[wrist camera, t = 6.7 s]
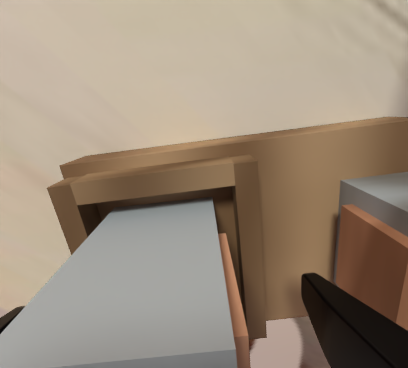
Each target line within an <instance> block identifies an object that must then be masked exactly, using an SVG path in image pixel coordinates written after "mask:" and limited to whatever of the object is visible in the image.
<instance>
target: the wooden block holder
mask: <svg viewBox="0 0 408 368" xmlns="http://www.w3.org/2000/svg"><path fill="white" fill-rule="evenodd" d="M60 169H61V172H62V175H63V178H64V180H62V181H60V182H58V183H56V184H54V185H52V186H50V187H48V188H47V190H48V192H49V195H50V198H51V200H52V203H53V206H54V209H55V211H56V214H57V217H58V219H59V222H60V225H61V227H62V230H63V233H64V236H65V238H66V241H67V244H68V246H69V249H70V252H71V255H72V254H73V253H74V252H75V251H76V250H77V249H78V247H79V246H80V245H81V244H82V243H83V242H84V241H85V240H86V239H87V238H88V236H89V235H90V234H91V233H92V232H93V231H94V230H95V229H96V228H97V226H98V225H99V224H100V223H101V222H102V221H103V220H104V219H105V218H106V216H107V215H108V214H109V213H110V212H111V211H112V210H113V209H114V208H115V207H123V206H133V205H142V204H151V203H160V202H169V201H178V200H188V199H197V198H206V197H212V198H213V205H214V211H215V218H216V224H217V231H218V234H222V233H226V236H227V241H228V245H229V250H230V254H231V259H232V263H233V268H234V273H235V277H236V282H237V286H238V291H239V295H240V300H241V304H242V309H243V313H244V318H245V322H246V327H247V332H248V338H249V339H258V338H266V321H268V320H276V319H286V318H295V317H304V316H308V313H307V311H306V308H305V306H304V303H303V301H302V297H301V276H302V274H304V273H312V272H314V273H317V274H319V275H320V276H322V277H323V278H325V279H326V280H328V281H330V282H331V283H333V284H334V285H336V286H338V287H339V288H341V289H342V290H344V291H346V292H347V293H349V294H350V295H352V296H353V297H355V298H357V299H358V300H360V301H361V302H363V303H365V304H366V305H368V306H369V307H371V308H373V309H374V310H376V311H377V312H379V313H380V314H382V315H384V316H385V317H387V318H388V319H390V320H392V321H393V322H395V323H396V324H398V325H400V326H401V327H403V328H404V329H406V330H407V331H408V117H383V118H375V119H367V120H360V121H352V122H344V123H337V124H329V125H321V126H313V127H306V128H298V129H290V130H283V131H275V132H267V133H260V134H252V135H244V136H237V137H229V138H221V139H213V140H206V141H198V142H190V143H183V144H175V145H167V146H160V147H152V148H144V149H136V150H129V151H121V152H113V153H106V154H98V155H90V156H84V157H82V158H79V159H76V160H74V161H71V162H68V163H66V164H63V165H60Z"/></svg>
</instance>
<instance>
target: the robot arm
mask: <svg viewBox="0 0 408 368" xmlns="http://www.w3.org/2000/svg"><path fill="white" fill-rule="evenodd" d="M301 297H302V301H303V303H304V306H305V308H306V311H307V313H308V316H309V318H310V320H311V323H312V325H313V328H314V330H315V333H316V335H317V338H318V340H319V343H320V345H321V348H322V350H323V352H324V354H325V356H326V358H327V361H328V363H329V365H330V366H331V368H408V331H407V330H406V329H404V328H403V327H401V326H400V325H398V324H396V323H395V322H393V321H392V320H390V319H388V318H387V317H385V316H384V315H382V314H380V313H379V312H377V311H376V310H374V309H373V308H371V307H369V306H368V305H366V304H365V303H363V302H361V301H360V300H358V299H357V298H355V297H353V296H352V295H350V294H349V293H347V292H346V291H344V290H342V289H341V288H339V287H338V286H336V285H334V284H333V283H331V282H330V281H328V280H326V279H325V278H323V277H322V276H320V275H319V274H317V273H314V272H312V273H304V274H302V276H301ZM24 307H25V306H20V307H17V308H15V309H13V310H12V311H10V312H9V313H7V314H6V315H4V316H3V317H1V318H0V334H1V333H2V332H3V331H4V329H5V328H6V327H7V326H8V325H9V324H10V323H11V322H12V321H13V320H14V318H15V317H16V316H17V315H18V314H19V313H20V312H21V311H22V310H23V308H24Z"/></svg>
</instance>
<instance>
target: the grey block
mask: <svg viewBox="0 0 408 368" xmlns="http://www.w3.org/2000/svg"><path fill="white" fill-rule="evenodd" d="M0 368H250V353H249V338H248V332H247V327H246V322H245V318H244V313H243V309H242V304H241V300H240V295H239V291H238V286H237V282H236V277H235V273H234V268H233V263H232V259H231V254H230V250H229V245H228V241H227V236H226V233H222V234H218V231H217V224H216V218H215V211H214V205H213V198H212V197H206V198H197V199H188V200H178V201H169V202H160V203H151V204H142V205H133V206H123V207H115V208H114V209H113V210H112V211H111V212H110V213H109V214H108V215H107V216H106V218H105V219H104V220H103V221H102V222H101V223H100V224H99V225H98V226H97V228H96V229H95V230H94V231H93V232H92V233H91V234H90V235H89V236H88V238H87V239H86V240H85V241H84V242H83V243H82V244H81V245H80V246H79V247H78V249H77V250H76V251H75V252H74V253H73V254H72V255H71V256H70V257H69V259H68V260H67V261H66V262H65V263H64V264H63V265H62V266H61V267H60V269H59V270H58V271H57V272H56V273H55V274H54V275H53V276H52V277H51V279H50V280H49V281H48V282H47V283H46V284H45V285H44V286H43V287H42V288H41V290H40V291H39V292H38V293H37V294H36V295H35V296H34V297H33V298H32V300H31V301H30V302H29V303H28V304H27V305H26V306H25V307H24V308H23V310H22V311H21V312H20V313H19V314H18V315H17V316H16V317H15V318H14V320H13V321H12V322H11V323H10V324H9V325H8V326H7V327H6V328H5V329H4V331H3V332H2V333H1V334H0Z"/></svg>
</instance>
